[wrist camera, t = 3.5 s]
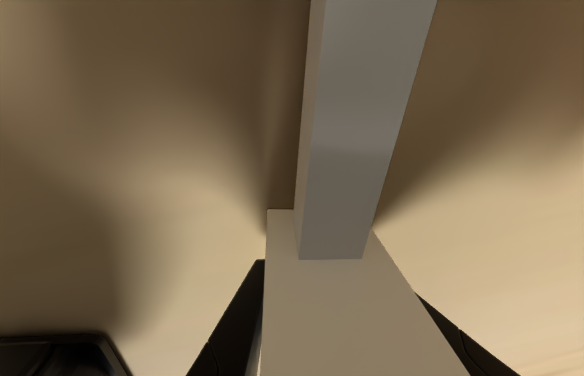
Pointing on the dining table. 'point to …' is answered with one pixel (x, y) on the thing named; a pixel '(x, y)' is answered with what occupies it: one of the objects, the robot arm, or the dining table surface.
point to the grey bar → (348, 207)
